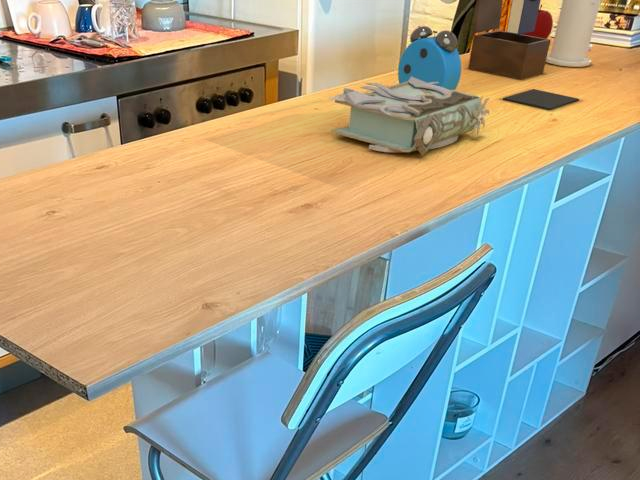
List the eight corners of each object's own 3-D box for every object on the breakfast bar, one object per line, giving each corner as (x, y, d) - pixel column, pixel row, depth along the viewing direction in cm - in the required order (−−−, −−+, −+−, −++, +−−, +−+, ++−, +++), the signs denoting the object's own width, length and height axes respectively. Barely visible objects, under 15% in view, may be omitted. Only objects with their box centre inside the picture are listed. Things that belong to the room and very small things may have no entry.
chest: (542, 73, 212) (550, 39, 207) (520, 79, 206) (527, 44, 201) (491, 63, 220) (497, 30, 215) (467, 68, 214) (473, 35, 209)
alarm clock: (455, 108, 181) (469, 31, 171) (438, 113, 178) (451, 34, 168) (409, 96, 188) (420, 22, 178) (392, 100, 185) (402, 24, 175)
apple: (553, 43, 246) (562, 4, 240) (540, 46, 241) (548, 7, 234) (526, 38, 251) (534, 0, 244) (512, 42, 245) (519, 3, 239)
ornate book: (413, 170, 149) (496, 133, 166) (420, 113, 142) (506, 81, 159) (318, 143, 160) (404, 111, 177) (320, 90, 154) (410, 62, 171)
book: (522, 28, 210) (533, -27, 202) (534, 30, 208) (545, -25, 200) (505, 33, 205) (516, -24, 198) (517, 35, 204) (529, -22, 196)
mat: (533, 90, 197) (533, 88, 197) (578, 100, 191) (579, 98, 190) (502, 99, 189) (503, 97, 189) (549, 110, 183) (549, 108, 182)
